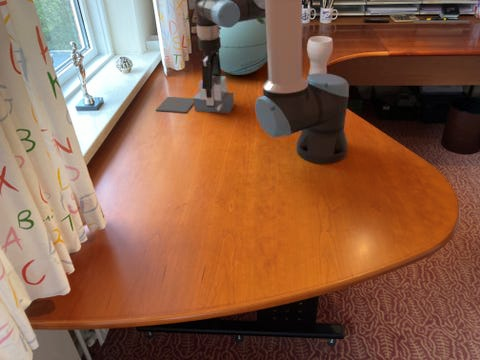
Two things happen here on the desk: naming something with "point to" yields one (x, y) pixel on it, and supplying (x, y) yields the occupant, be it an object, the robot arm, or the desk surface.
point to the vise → (215, 103)
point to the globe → (243, 47)
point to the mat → (176, 105)
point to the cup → (319, 53)
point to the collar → (215, 88)
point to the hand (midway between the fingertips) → (213, 100)
